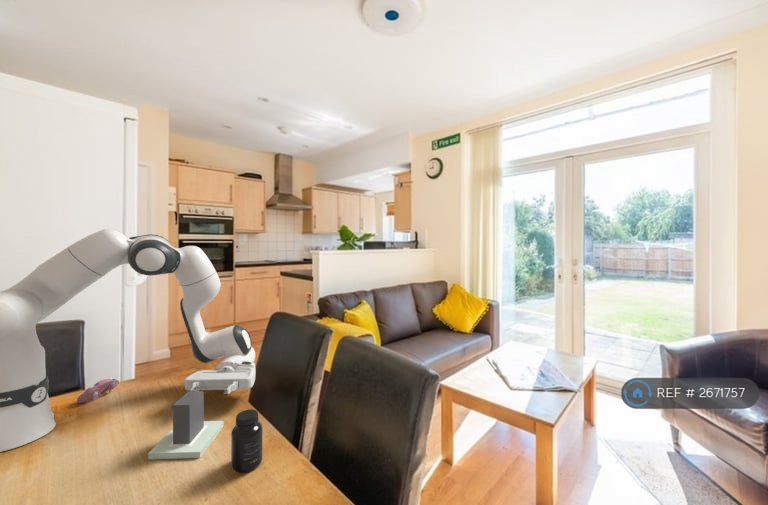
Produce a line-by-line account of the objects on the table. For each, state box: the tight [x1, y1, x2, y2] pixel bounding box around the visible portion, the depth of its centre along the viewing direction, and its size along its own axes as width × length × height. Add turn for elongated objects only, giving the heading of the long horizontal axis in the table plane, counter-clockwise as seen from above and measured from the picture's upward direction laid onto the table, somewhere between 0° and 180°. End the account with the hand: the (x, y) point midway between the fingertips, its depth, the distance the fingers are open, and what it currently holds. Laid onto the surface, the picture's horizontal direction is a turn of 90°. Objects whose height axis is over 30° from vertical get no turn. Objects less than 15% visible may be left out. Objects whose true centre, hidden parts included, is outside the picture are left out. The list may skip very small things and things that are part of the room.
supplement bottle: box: [230, 408, 264, 474], centre depth 74 cm, size 7×7×12 cm
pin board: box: [147, 420, 225, 460], centre depth 82 cm, size 12×13×4 cm
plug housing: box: [172, 390, 205, 444], centre depth 82 cm, size 4×7×10 cm, turn 4°
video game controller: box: [76, 377, 120, 404], centre depth 103 cm, size 10×5×7 cm, turn 170°
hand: (209, 392), depth 92 cm, fingers open, 8 cm apart
